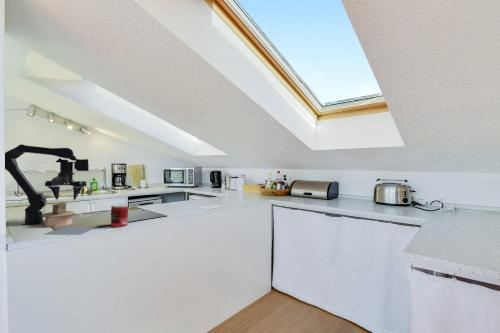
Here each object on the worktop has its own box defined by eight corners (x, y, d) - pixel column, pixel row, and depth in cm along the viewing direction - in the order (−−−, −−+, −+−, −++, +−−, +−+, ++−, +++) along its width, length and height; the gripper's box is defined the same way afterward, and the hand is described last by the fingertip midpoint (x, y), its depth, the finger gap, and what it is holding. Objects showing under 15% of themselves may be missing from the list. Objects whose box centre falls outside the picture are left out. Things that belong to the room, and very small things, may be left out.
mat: (42, 235, 113) (42, 234, 113) (66, 226, 129) (66, 225, 129) (80, 235, 114) (80, 234, 114) (99, 227, 130) (99, 226, 130)
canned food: (128, 224, 138) (128, 203, 138) (126, 227, 130) (127, 205, 130) (112, 225, 135) (112, 204, 135) (109, 228, 127) (110, 206, 128)
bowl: (40, 227, 127) (41, 217, 127) (55, 222, 137) (55, 213, 137) (62, 227, 128) (63, 217, 128) (75, 222, 138) (76, 213, 138)
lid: (34, 217, 125) (34, 205, 125) (54, 212, 139) (54, 201, 139) (64, 218, 126) (64, 206, 126) (81, 212, 140) (81, 202, 140)
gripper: (37, 170, 132) (36, 201, 132) (75, 171, 133) (74, 201, 133) (52, 170, 143) (51, 198, 143) (87, 171, 144) (86, 199, 144)
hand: (65, 199), depth 140 cm, fingers open, 9 cm apart
